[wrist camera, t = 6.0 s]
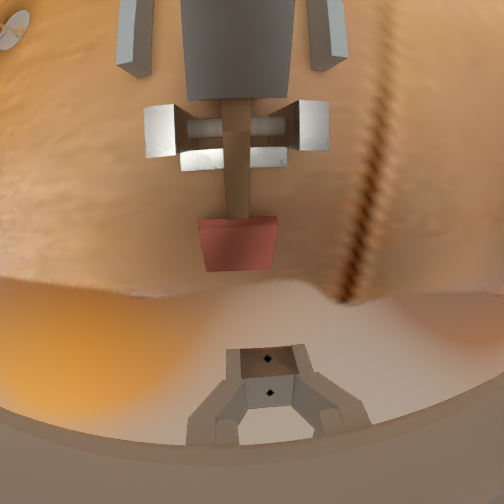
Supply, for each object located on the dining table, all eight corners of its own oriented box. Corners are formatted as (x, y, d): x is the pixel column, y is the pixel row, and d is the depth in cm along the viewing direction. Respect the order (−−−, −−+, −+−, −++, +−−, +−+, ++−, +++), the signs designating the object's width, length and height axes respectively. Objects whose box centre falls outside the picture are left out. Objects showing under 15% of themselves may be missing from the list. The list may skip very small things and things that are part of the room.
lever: (270, -14, 12) (310, -13, 7) (260, 191, 28) (273, 278, 22) (192, -13, 12) (165, -12, 6) (208, 194, 27) (206, 282, 22)
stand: (285, 115, 21) (328, 101, 12) (285, 165, 23) (327, 188, 13) (179, 119, 21) (143, 107, 11) (182, 170, 22) (149, 196, 13)
